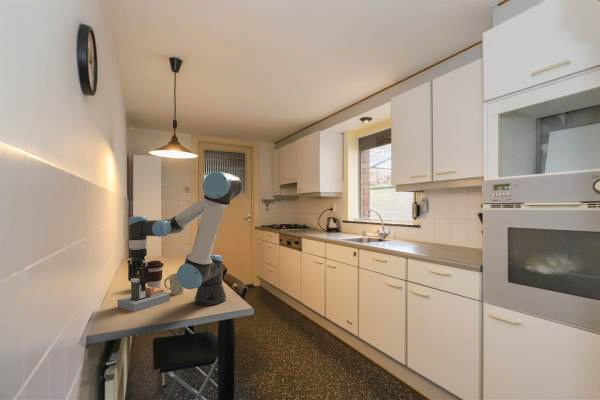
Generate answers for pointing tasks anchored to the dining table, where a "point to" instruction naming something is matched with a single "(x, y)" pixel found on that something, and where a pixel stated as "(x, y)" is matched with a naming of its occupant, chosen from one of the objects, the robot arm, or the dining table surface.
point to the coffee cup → (155, 274)
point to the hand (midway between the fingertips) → (138, 296)
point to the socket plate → (143, 302)
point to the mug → (174, 284)
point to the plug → (135, 289)
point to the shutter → (153, 291)
